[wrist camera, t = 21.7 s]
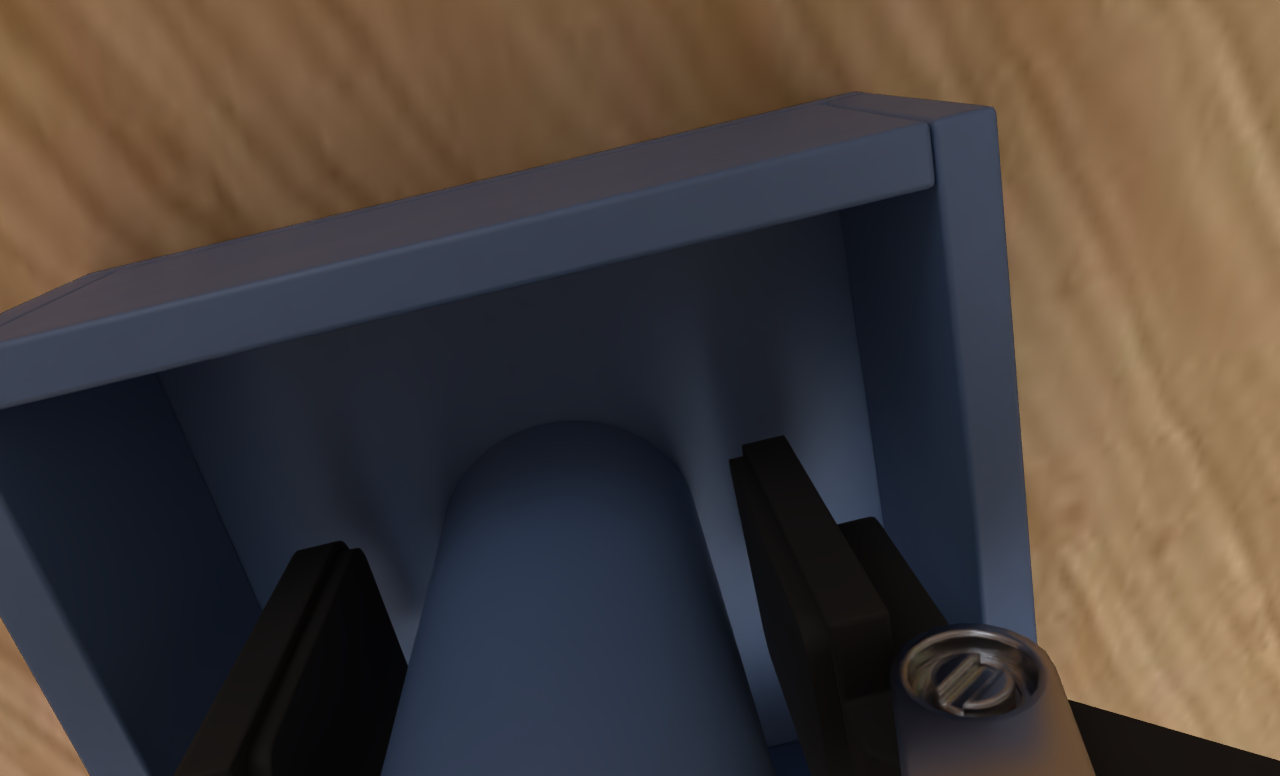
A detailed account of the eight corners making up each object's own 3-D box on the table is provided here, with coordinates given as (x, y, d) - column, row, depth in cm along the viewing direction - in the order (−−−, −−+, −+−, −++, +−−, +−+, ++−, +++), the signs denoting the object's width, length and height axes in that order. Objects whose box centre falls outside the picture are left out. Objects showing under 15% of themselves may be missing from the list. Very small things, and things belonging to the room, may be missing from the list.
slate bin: (348, 852, 15) (278, 1113, 11) (86, 272, 12) (-140, 375, 8) (938, 712, 15) (1061, 925, 11) (857, 90, 12) (999, 104, 8)
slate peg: (485, 665, 14) (413, 1233, 7) (412, 453, 12) (240, 904, 6) (718, 609, 14) (867, 1127, 7) (670, 391, 12) (794, 773, 6)
